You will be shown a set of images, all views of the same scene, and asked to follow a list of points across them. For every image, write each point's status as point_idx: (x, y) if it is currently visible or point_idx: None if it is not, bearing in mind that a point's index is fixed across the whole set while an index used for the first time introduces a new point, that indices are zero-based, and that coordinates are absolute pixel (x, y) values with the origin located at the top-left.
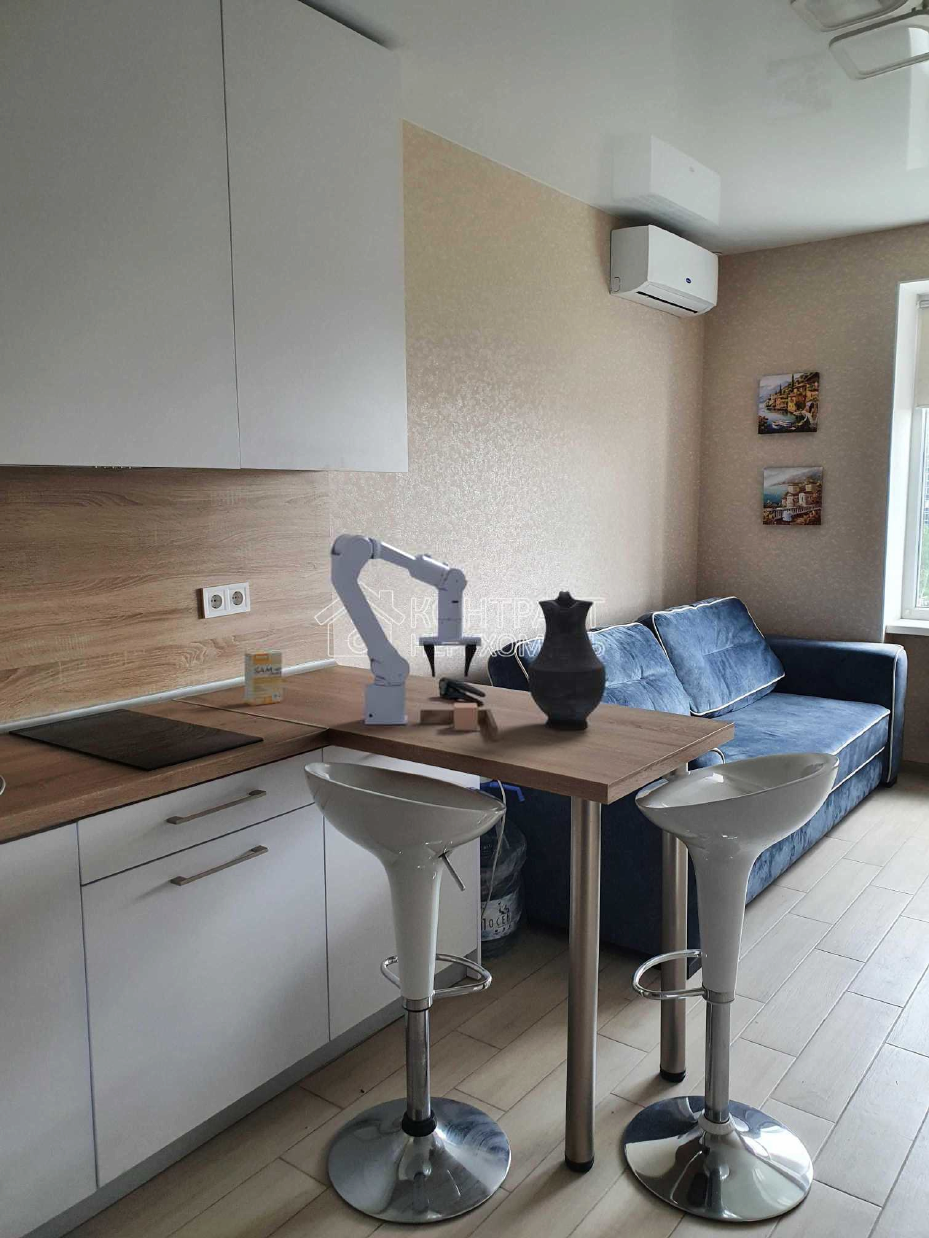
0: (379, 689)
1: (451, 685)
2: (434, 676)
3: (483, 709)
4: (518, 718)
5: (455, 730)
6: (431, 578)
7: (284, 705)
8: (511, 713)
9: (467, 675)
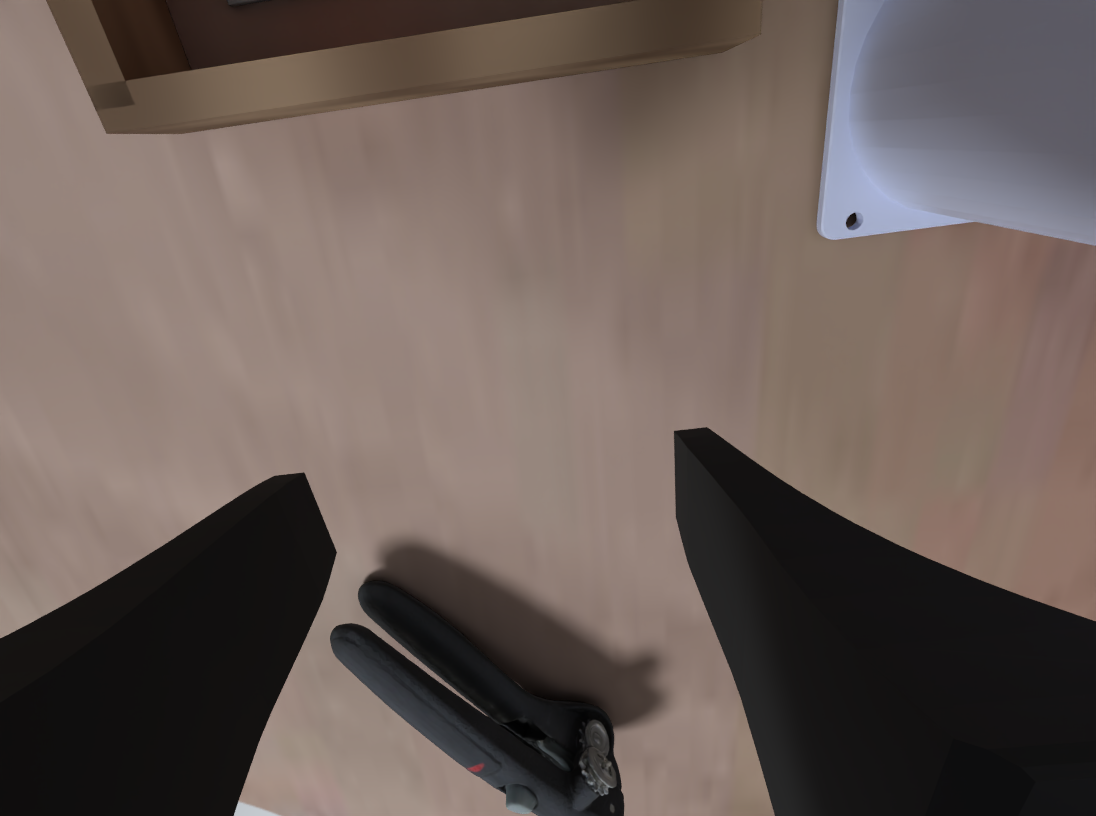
0: None
1: (551, 765)
2: (682, 430)
3: (163, 116)
4: (35, 291)
5: None
6: None
7: None
8: (142, 430)
9: (263, 482)
